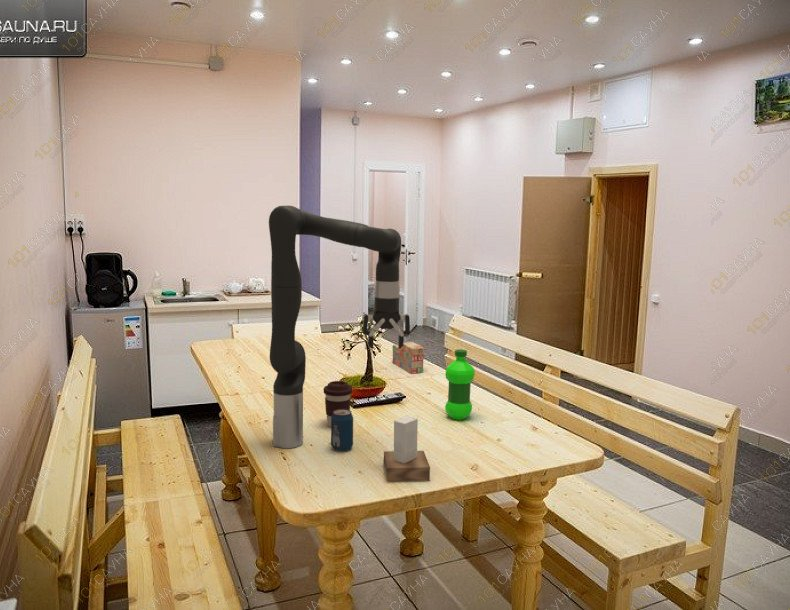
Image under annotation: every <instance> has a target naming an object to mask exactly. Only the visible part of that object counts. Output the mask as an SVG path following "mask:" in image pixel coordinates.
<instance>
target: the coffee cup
mask: <svg viewBox="0 0 790 610" xmlns="http://www.w3.org/2000/svg"><path fill="white" fill-rule="evenodd" d="M323 394H324V395H325V397H324V402H325V403H324V405H325V414H326V422H327V423H326V424H327V426H328V427H330V428H331V416H332V414H333V411H334V410H337V409H348V410H350V411H351V401H352V399H351V395H352V394H353V387H352V386H350V385H349V383H348V382H346V381H343V380H334V381H329V382H328V383H327V385H326V386H324V387H323Z"/></svg>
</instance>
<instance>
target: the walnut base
mask: <svg viewBox="0 0 790 610" xmlns="http://www.w3.org/2000/svg"><path fill="white" fill-rule="evenodd" d="M382 461H383V469H384V474H385V477H386V478H385V479H386V482H387V483H389V482H390V483H393V482H394V483H395V482H425V481H426V482H427V481H430V479H431V478H430V477H431V466H430V463H429V461H428V458H427V455H426V453H425V451H424V450H417V458H415V459H413V460H411V461H409V462H407V463H405V464H404V463H401V462H398V461H395V460H394V450H390V451H388V450H387V451H385V450H383V460H382Z"/></svg>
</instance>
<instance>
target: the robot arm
mask: <svg viewBox="0 0 790 610" xmlns="http://www.w3.org/2000/svg"><path fill="white" fill-rule="evenodd" d="M268 229H269V230H268V231H269V238H270V247H271V249H270V250H271V262H270V263H271V266H270V268H271V273H270V274H271V275H270V276H271V277H270V278H271V279H270V281H271V283H270V291H271V295H270V296H271V298H270V300H271V302H270V303H271V336H270V337H271V339H270V348H269V363H270V365H271V367H272V369H273V370H274V371H275V372H277V374H276V377H275V380H274V382H273V389H272V391H273V415H272V442H273V443H272V447H278V448H281V449H292V448H297V447H301V446H302V444H304V385H305V380H306V366H307V365H306V360H307V359H306V358H307V357H306V351H305V348H304V346H303V345H302V344H301V343H300V342H299V341H297V340H296V336H295V332H296V326H297V325H296V324H297V320H298V317H299V313H300V309H301V305H302V296H303V293H302V290H303V289H302V288H303V286H302V275H301V271H300V268H299V265H298V260H297V256H296V240H297V239H296V237H297V235H299V236H300V235H301V236H314V237H319V238H323V239H326V240H329V241H332V242H336V243H339V244H342V245H345V246H347V245H348V246H352V247H358V248H364V249H367V250H370V251H373V252H377V253H378V258H377V259H378V260H377V262H376V267H375V284H374V292H373V293H374V299H373V300H374V301H373V302H374V305H373V307H374V309H373V310H374V312H373V314H367V313H364V315H363V320H362V321H363V324H362V333H363V335H366V336H368V337H367V338H368V339H367V340H368V343H367V345H368V347H369V348H370V349H371V350H372V349H374V336H375V335H374V334H375V333H376V332H377V331H378V330H379V329H381V330H385V329H388V330H392V329H395V331H396V333H397V334H398V339H397V340H398V342H397V343H398V344H397V345H398V348H399V349H401V347H403V344H404V343H405V341H404V340H405V339H404V338H405V336H407V335H408V336H409V335H410V334H411V328H410V327H411V324H410V320H411V319H410V315H409V314H408V313H405V314H400V294H401V292H400V288H401V287H400V259H401V251H402V237H401V235H400V233H399V232H398V231H397V230H396V229H393V228H379V227H375V226H369V225H367V224H365V223H361V222H355V221H350V220H345V219H344V220H343V219H340V218H339V219H338V218H331V217H325V216H322V215H318V214H314V213H311V212H308V211H306V210H303V209H301V208H298V207H295V206H294V205H279V206H276V207H275V208H273V209H272V211H271V212H270V214H269V215H268ZM372 319H373V321H374V324H373V326H372V327H371V329H370V330H368V326H369V323H370V322H371V320H372ZM400 321H402V322H403V323H404V330H402V329H401V327H400V326H399V325H398V322H400Z"/></svg>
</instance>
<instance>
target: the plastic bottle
mask: <svg viewBox="0 0 790 610" xmlns="http://www.w3.org/2000/svg"><path fill="white" fill-rule="evenodd" d="M467 355H468V350H467V349H455V350H454V356H455V358H456V359H455V360H454V361H452V362H451V363H450V364H449V365H448V366H447V367H446V370H445V379H446V380H447V381H448V394H447V395H448V397H447V402H446V403H445V406H444V408H445V409H444V410H445V413H446V414H447V415H448V416H450V418H451V419H453V420H457V421H461V420H465V419H466V418H467V417H469V416H470V414H471V413H472V410H473V404H472V402H471V387H472V386H471V383H472V381H473V380H474V378H475V375H476V374H475V373H476V372H475V368H474V366H472V365H471V364H470V363H469V362H468V361H467V360H466V357H467Z"/></svg>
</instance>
